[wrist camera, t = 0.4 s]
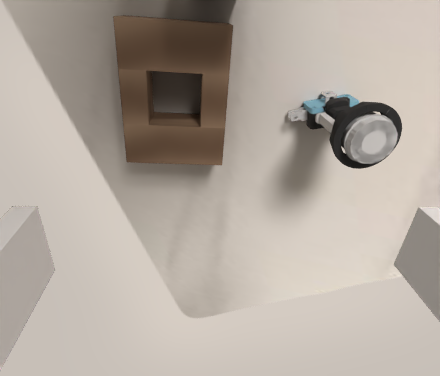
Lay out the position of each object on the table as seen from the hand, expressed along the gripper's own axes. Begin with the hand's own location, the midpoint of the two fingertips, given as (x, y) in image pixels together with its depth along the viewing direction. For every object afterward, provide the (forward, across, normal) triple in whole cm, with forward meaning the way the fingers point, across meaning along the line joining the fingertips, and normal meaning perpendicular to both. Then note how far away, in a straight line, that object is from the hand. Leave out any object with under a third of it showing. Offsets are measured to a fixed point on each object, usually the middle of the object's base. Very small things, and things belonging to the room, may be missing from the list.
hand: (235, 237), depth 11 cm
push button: (+22, +11, -1) cm, 25 cm away
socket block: (+22, -3, 0) cm, 22 cm away
